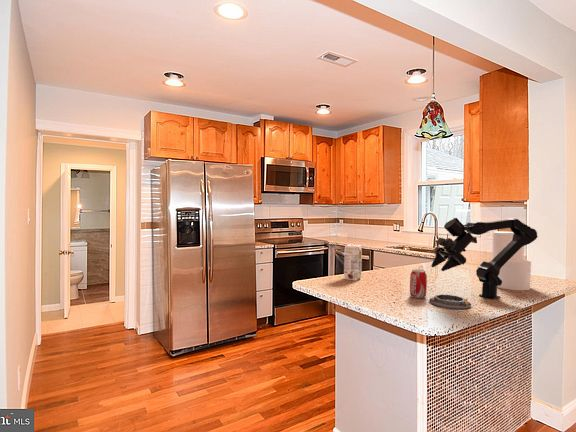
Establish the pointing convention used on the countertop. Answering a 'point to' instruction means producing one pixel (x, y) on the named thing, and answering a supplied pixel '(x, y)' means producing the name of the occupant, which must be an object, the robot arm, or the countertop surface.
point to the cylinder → (512, 264)
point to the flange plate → (450, 301)
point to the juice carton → (352, 262)
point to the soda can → (418, 283)
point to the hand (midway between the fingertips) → (436, 268)
